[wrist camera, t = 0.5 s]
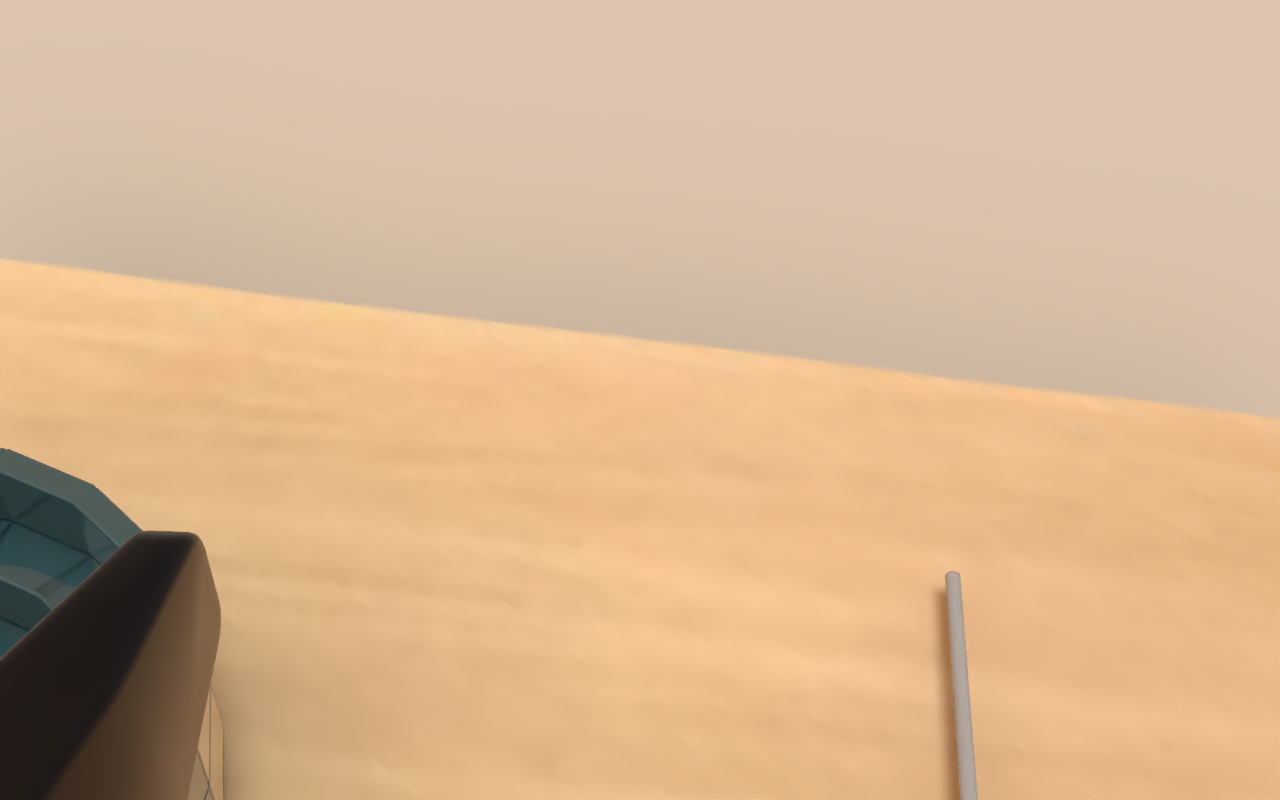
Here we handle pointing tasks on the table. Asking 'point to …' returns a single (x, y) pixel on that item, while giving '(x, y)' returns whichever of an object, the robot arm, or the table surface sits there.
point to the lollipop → (960, 689)
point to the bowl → (71, 569)
